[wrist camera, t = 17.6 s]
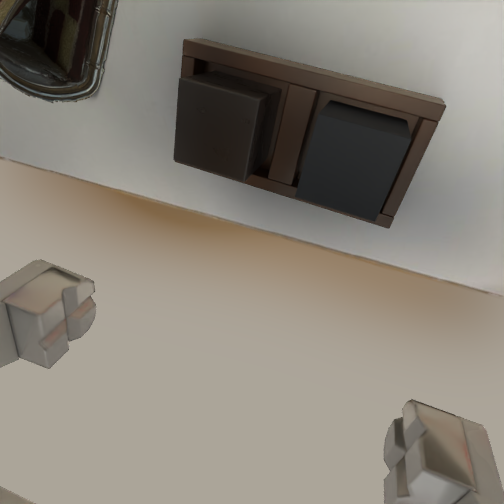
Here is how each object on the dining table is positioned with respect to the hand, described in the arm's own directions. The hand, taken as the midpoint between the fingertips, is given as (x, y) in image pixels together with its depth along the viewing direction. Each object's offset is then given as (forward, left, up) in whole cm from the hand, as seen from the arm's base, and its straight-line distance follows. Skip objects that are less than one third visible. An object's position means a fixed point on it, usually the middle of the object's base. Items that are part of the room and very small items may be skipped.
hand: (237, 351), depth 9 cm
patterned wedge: (-19, +6, -18) cm, 27 cm away
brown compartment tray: (-2, +1, -18) cm, 18 cm away
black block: (+1, +1, -17) cm, 17 cm away
